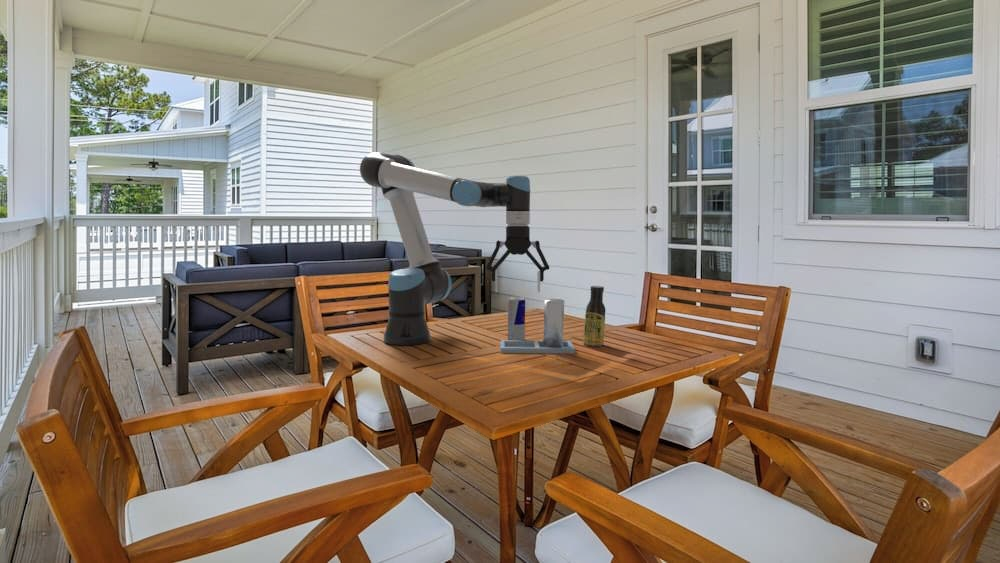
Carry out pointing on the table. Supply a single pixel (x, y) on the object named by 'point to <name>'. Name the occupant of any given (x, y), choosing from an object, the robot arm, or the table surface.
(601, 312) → the sauce bottle
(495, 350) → the table surface
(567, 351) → the divided tray
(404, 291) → the robot arm
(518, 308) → the beverage can
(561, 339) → the twin can
